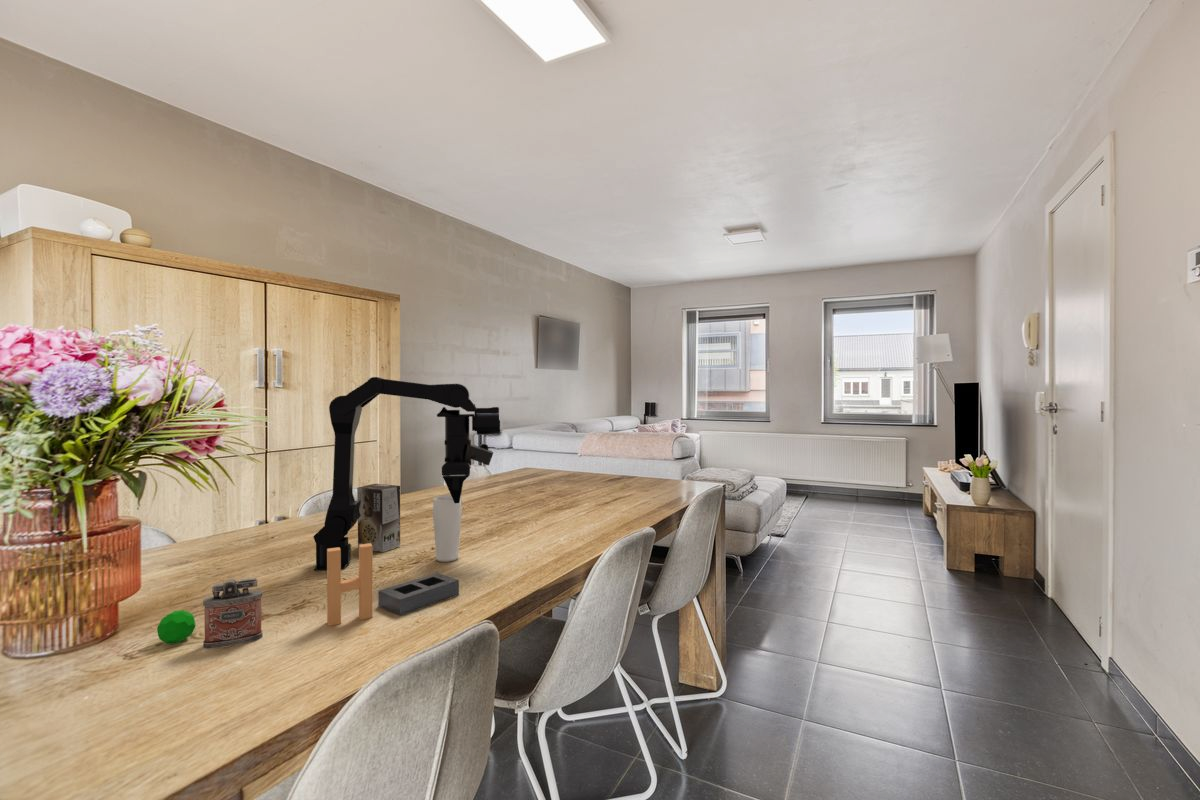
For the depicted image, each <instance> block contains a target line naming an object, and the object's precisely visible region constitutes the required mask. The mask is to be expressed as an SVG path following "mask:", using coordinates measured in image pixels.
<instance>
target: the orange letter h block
mask: <svg viewBox="0 0 1200 800" xmlns="http://www.w3.org/2000/svg"><path fill="white" fill-rule="evenodd" d="M373 552H374V551H373V546H372V544H371V543H368V544H361V545H359V548H358V577H357V578H349V579H345V580H342V578H341V577H342V569H341V549H340V547H337V548H329V549H327V570H326V576H327V577H326V597H327V598H326V609H327V611H326V612H327V613H326V616H327V617H326V622H327V626H328V627H330V626H335V625H340V624H342V607H341V606H342V605H341V604H342V601H341V600H342V593H344V592H349V591H357V590H358V617H359V619H360V621H361V620H368V619H373V613H374V612H373V604H374V603H373V597H374V596H373V594H374V593H373V592H374V591H373V583H374V582H373V577H374V575H373V567H374V565H373V557H374V556H373Z"/></svg>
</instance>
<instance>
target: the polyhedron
mask: <svg viewBox="0 0 1200 800" xmlns="http://www.w3.org/2000/svg"><path fill="white" fill-rule="evenodd" d="M196 625H197V624H196V621H195V617H194V614H192V613H191V612H190V611H187V610H173V611H172V612H170V613H168V614H167V615H165V616H164V617H163V618H162V619H161V620H160V622H159V623H158V625H157V628H156V630H157V636H158V638H159V640H160V641H162V643H165V644H170V645H171V644H173V645H174V644H180V643H181V642H183V641H185V640H186V639H187V638H189V637H190V636H191V635H192V634H193V633H194V630H195V628H196Z"/></svg>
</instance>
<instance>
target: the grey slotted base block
mask: <svg viewBox="0 0 1200 800" xmlns="http://www.w3.org/2000/svg"><path fill="white" fill-rule="evenodd" d="M377 592H378V593H377V594H378V602H377V603H378V605H377V606H378V608H381V609H383V610H386V611H388V612H390V613H393V614H395V615H398V616H399V617H401V616H404V615H406V614H409V613H412V612H414V611H417V610H418V611H419V610H421V609H423V608H426V607H429V606H431V605H435V604H437V603H439V602H442V601H446V600H449V599H450V597H451V598H453V597H456V596H459V595H460V594H459V593H460V580H459V579H457V578H454V577H451V576H448V575H446V574H442V573H439V572H435V573H431V574H428V575H425V576H422V577H418V578H415V579H412V580H408V581H405V582H402V583H398V584H396V585H392V586H389V587H386V588H383V589H379V590H378V591H377Z"/></svg>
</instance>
